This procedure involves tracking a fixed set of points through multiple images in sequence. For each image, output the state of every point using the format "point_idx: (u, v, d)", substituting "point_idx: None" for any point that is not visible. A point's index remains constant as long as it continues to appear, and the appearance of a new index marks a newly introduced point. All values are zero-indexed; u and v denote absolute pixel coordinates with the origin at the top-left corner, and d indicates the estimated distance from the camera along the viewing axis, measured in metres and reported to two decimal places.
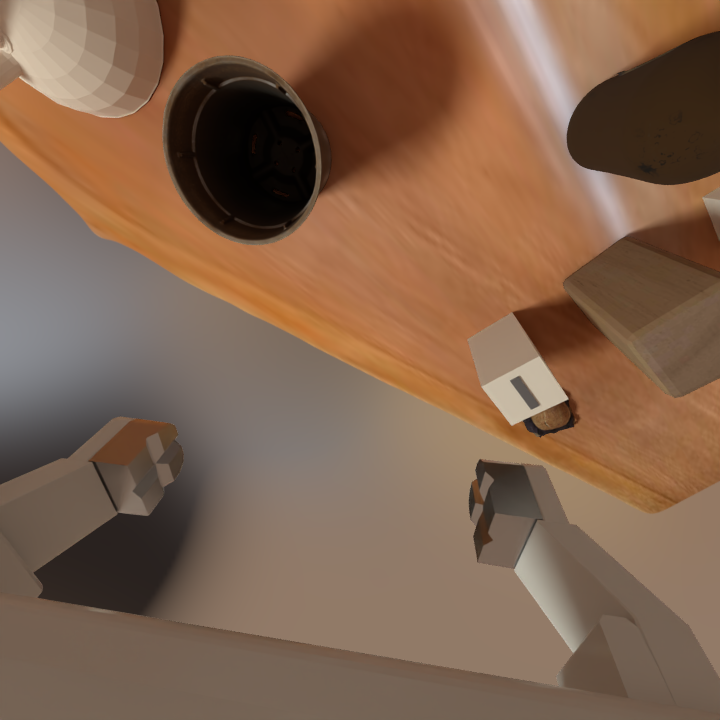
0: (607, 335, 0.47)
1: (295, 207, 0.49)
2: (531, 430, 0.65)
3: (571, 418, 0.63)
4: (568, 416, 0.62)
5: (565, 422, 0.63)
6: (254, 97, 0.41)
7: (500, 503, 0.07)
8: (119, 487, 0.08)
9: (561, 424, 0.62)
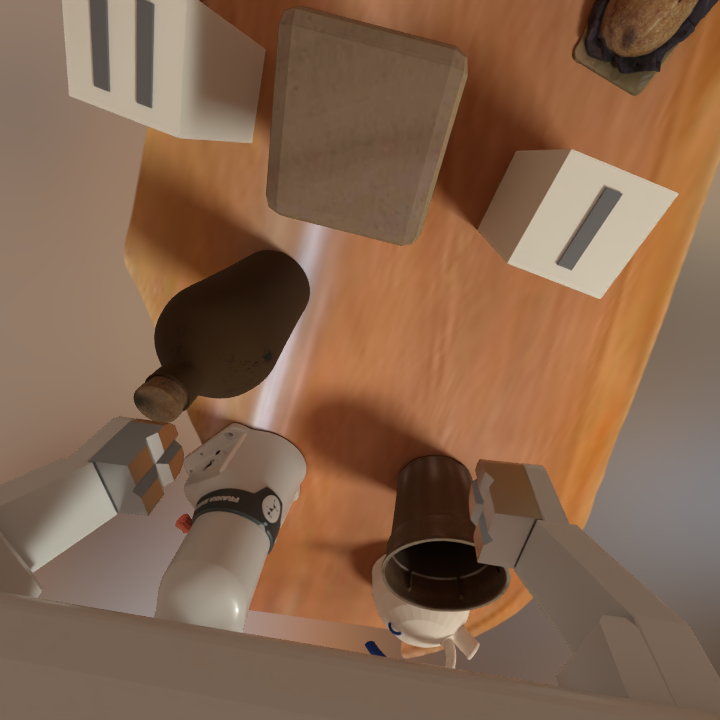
0: None
1: None
2: None
3: None
4: None
5: None
6: None
7: (500, 503, 0.07)
8: (119, 487, 0.08)
9: None
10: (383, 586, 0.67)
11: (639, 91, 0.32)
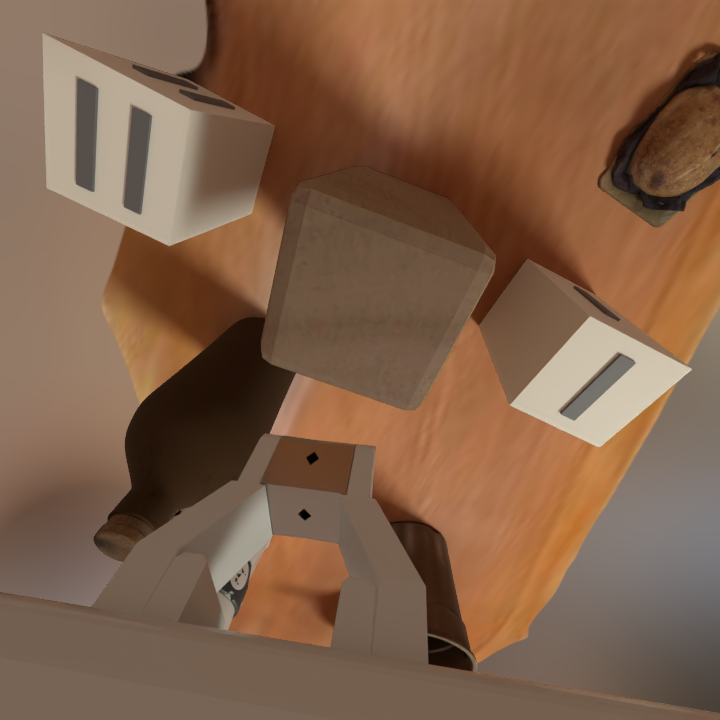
0: None
1: None
2: None
3: (692, 83, 0.26)
4: (684, 105, 0.26)
5: (706, 100, 0.25)
6: None
7: (313, 479, 0.08)
8: (284, 509, 0.08)
9: (713, 110, 0.25)
10: None
11: (661, 224, 0.31)
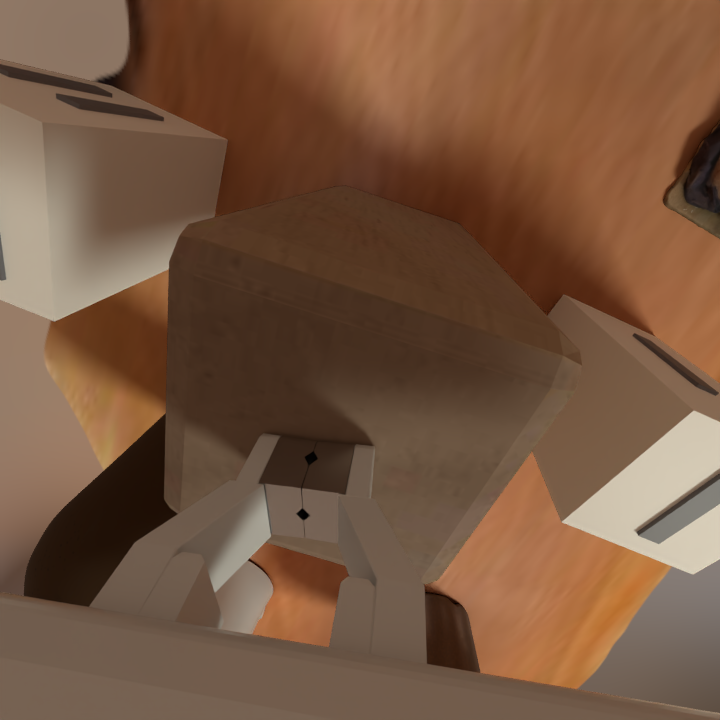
0: None
1: (465, 634, 0.45)
2: None
3: None
4: None
5: None
6: None
7: (312, 479, 0.08)
8: (282, 509, 0.08)
9: None
10: None
11: None
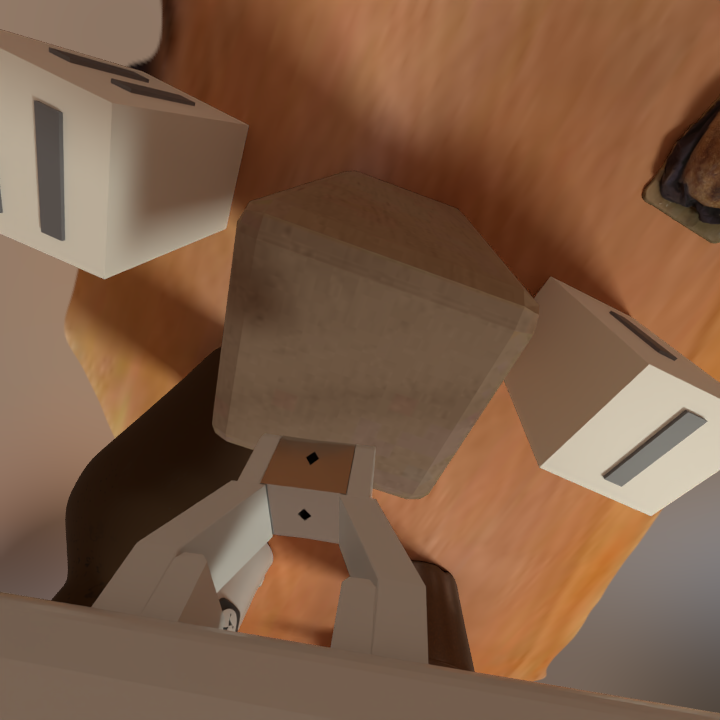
0: None
1: None
2: None
3: None
4: None
5: None
6: None
7: (313, 479, 0.08)
8: (284, 509, 0.08)
9: None
10: None
11: None
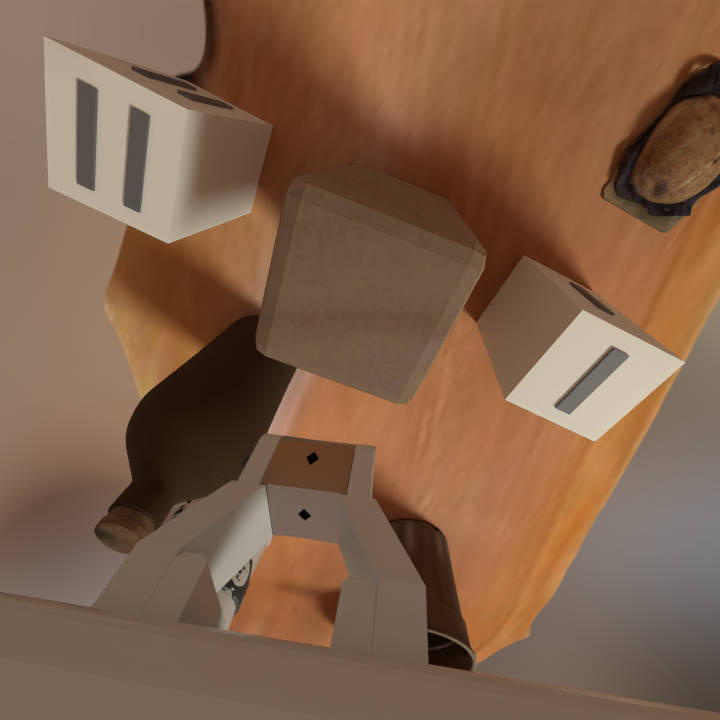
0: None
1: None
2: None
3: (688, 94, 0.26)
4: (682, 116, 0.27)
5: (703, 110, 0.26)
6: None
7: (313, 479, 0.08)
8: (284, 509, 0.08)
9: (711, 119, 0.26)
10: None
11: (668, 229, 0.32)
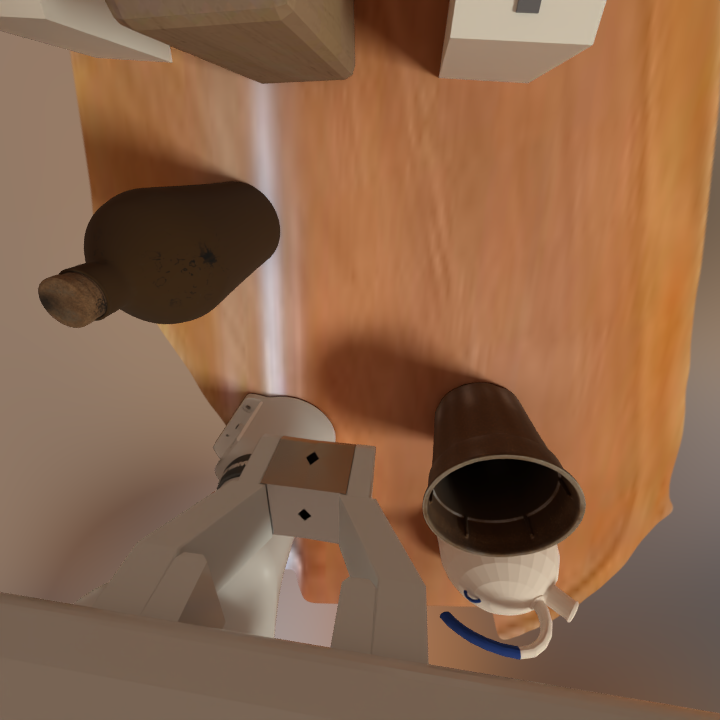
0: None
1: None
2: None
3: None
4: None
5: None
6: (454, 471, 0.50)
7: (313, 479, 0.08)
8: (284, 510, 0.08)
9: None
10: (450, 551, 0.60)
11: None
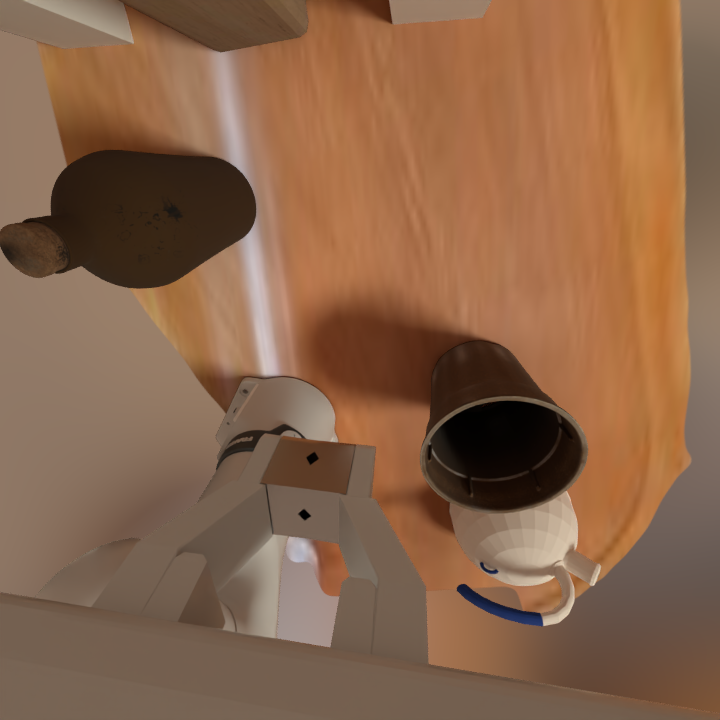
0: None
1: None
2: None
3: None
4: None
5: None
6: (456, 435, 0.48)
7: (313, 479, 0.08)
8: (284, 509, 0.08)
9: None
10: (462, 523, 0.58)
11: None
